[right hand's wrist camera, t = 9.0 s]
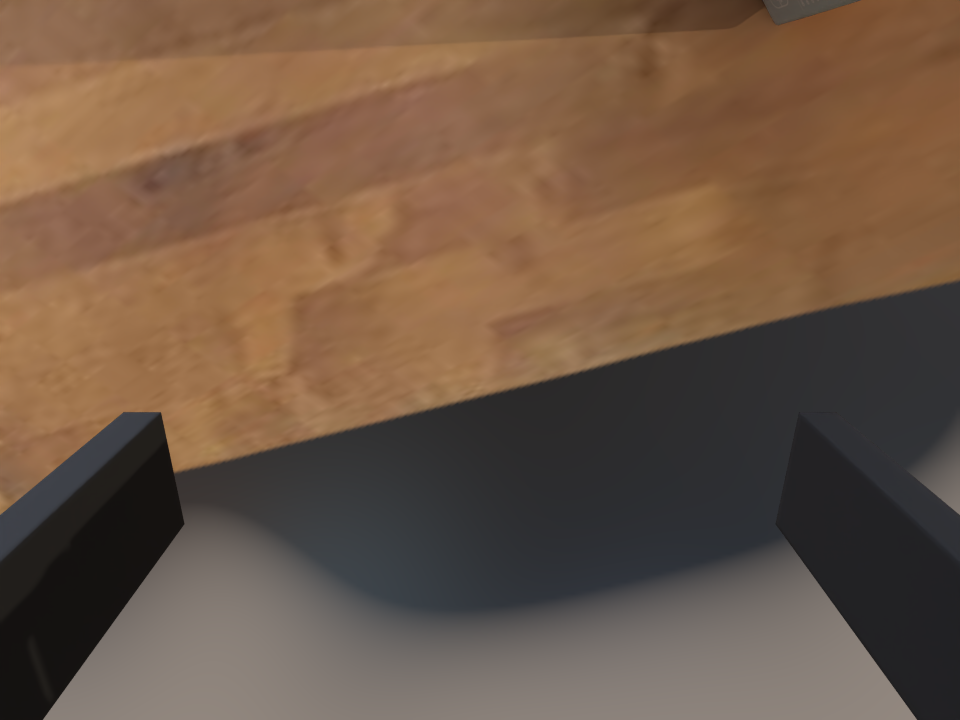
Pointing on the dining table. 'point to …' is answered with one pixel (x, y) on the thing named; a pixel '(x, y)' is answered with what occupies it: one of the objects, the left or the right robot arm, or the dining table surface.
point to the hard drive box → (800, 8)
